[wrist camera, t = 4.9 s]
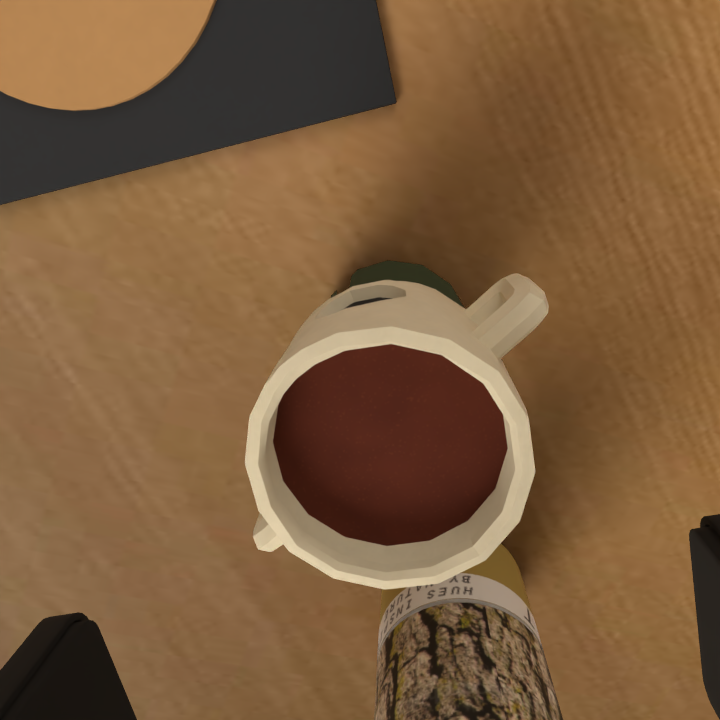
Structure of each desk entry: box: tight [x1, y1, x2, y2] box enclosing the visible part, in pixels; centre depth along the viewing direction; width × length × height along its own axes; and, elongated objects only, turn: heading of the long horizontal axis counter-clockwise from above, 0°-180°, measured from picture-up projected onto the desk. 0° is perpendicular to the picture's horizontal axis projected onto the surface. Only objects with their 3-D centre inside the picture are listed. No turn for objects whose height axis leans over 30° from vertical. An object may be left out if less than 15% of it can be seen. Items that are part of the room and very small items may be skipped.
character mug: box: [245, 261, 549, 590], centre depth 21 cm, size 11×7×13 cm, turn 135°
